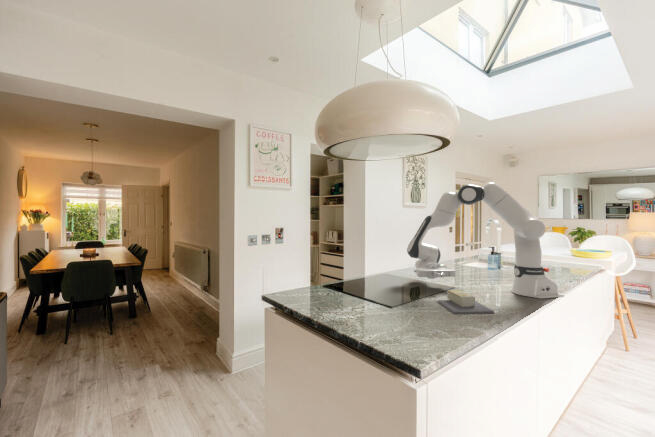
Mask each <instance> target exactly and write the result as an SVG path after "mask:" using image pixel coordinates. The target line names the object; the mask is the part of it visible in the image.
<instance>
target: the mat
mask: <svg viewBox="0 0 655 437" xmlns="http://www.w3.org/2000/svg"><path fill="white" fill-rule="evenodd" d="M437 303H439V304H440V305H441V306H442V307H444V308H445V309H446V310H448V311H449V312H450V313H451V314H454V315H467V314H470V315H471V314H475V315H476V314H478V315H479V314H495V311H494V310H492V309H491V308H489V307H487V306H485V305H484V304H482V303H479V301H476V300H475V306H472V307H461V306H460V305H458V304H456V303H454V302H452V301H451V300H449V299H443V300H441V299H440V300H439V299H438V300H437Z"/></svg>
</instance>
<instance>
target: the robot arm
mask: <svg viewBox="0 0 655 437" xmlns="http://www.w3.org/2000/svg"><path fill="white" fill-rule="evenodd" d="M478 202H483V203H485V204H486V205H487V206H489V208H490V209H491V210H493V211H494V213H496V214H497V216H499V218H500V219H502V220H503V221H504V222H505V223H507V225H509V226H510V227H511V228H513V232H514V233H513V234H514V247H515V262H514V265H513V272H514V278H513V284H512V286H511V287H512V288H511V290H510V292H511V293H512V294H515V295H519V296H524V297H529V298H536V299H551V298H563V297H564V296H565V294H563V293H562V292H560V291H559V288H558V285H557V283H556V281H554V280H553V279H552V278H550V277H549V276H547V275H546V273H549V272H550V269H549V267H548V268H547V267H543V266H542V247H541V241H540V239H541V237H543V236H544V235H545V233H546V226H545V223H544V222H543V221H542V220H540V219H539V218H538V217H537V216H536V215H535V214H534V213H533V212H531V211H530V210H529V209H528V208H526V207H525V206H523V205H522V204H521V203H520V202H519V201H517V199H515V198H514V197H513V196H512V195H511V194H510V193H509V192H508V191H507V190H505V189H504V188H503V187H502V186H500V185H499V184H497V183H496V182H492V181H491V182H490V181H489V182H487V183H484V184H483V185H482V186H479V185H476V184H464V185H462V186H461V187H460V188H459V190H458V191H457V192H453V191H446V192H444V193H443V194H442V196H441V197H440V199H439V201H438V203H437V205H436V207H435V209H434V211H433V212H432V213H431V214H430V215H427V216H426V217H425V218H424V220H423V221H422V223H421V225H420V226H419V228H418V229H417V231H416V233H415V234H414V236H413V238H412V239H411V241H410V242H409V244H408V246H407V248H406V252H407V254H408V255H409V257H410V258H413V259H416V261H415V264H414V265H415V266H414V267H415V269H413V273H415V275H416V276H417V277H419V278H427V279H430V280H431V279H432V280H434V279H436V278H455V277H456V276H457V275H456V274H457V272H456V269H455V268H453V267H450V266H447V264H443V263H441V264H440V263H439V262H440V259H441V251H440V249H439V247H438V246H436V245H433V244H429V243H426V242H425V243H424V242H423V240H424V238H425V236H426V234H427V233H428V231H429V230H431V229H434V228H442V227H443V228H444V227H447V226H449V225H451V224H452V223H453V221H454V219H455V217H456V215H457V212H458V209H459V208H460V207H461V206H462V205H466V206H467V205H469V206H471V205H474V204H476V203H478ZM564 298H565V297H564Z"/></svg>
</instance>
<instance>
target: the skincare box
mask: <svg viewBox="0 0 655 437" xmlns="http://www.w3.org/2000/svg"><path fill="white" fill-rule="evenodd" d="M446 295H447V296H446V297H447V299H446V300H451V301H452V302H454V303H456V304H458V305H460V306H461V307H472V306H475V301H476V297H475V296H474V295H472V294H469V293H468V292H465V291H462V290H461V289H447V291H446Z"/></svg>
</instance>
